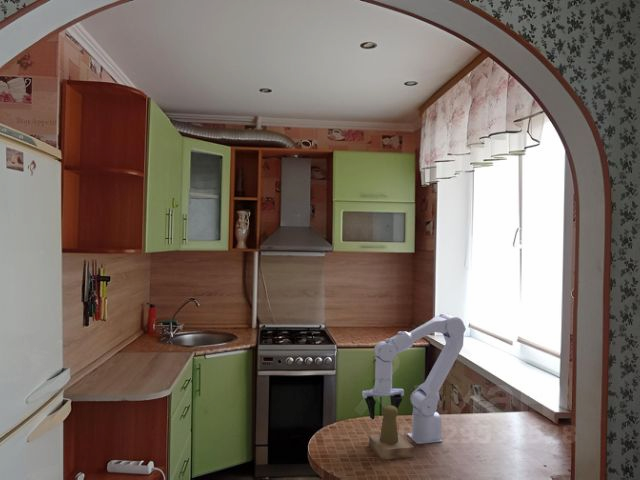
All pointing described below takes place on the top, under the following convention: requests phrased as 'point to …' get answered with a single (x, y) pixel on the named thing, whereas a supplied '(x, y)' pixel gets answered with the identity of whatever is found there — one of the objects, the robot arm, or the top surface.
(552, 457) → the top surface
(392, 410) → the cork
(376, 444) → the walnut block
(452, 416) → the top surface
